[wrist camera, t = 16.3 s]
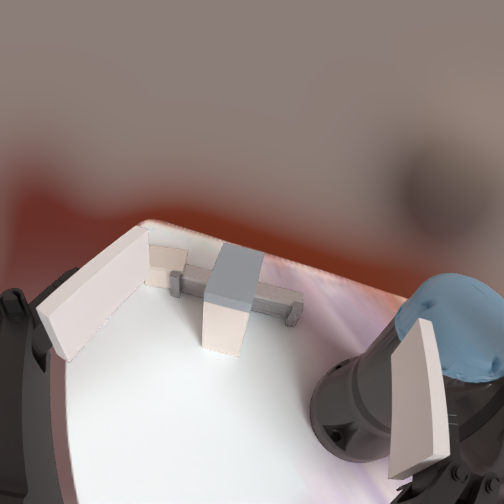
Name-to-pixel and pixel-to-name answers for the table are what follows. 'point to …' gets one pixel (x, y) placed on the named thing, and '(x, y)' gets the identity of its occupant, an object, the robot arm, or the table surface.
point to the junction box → (164, 265)
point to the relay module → (230, 298)
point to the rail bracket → (264, 298)
